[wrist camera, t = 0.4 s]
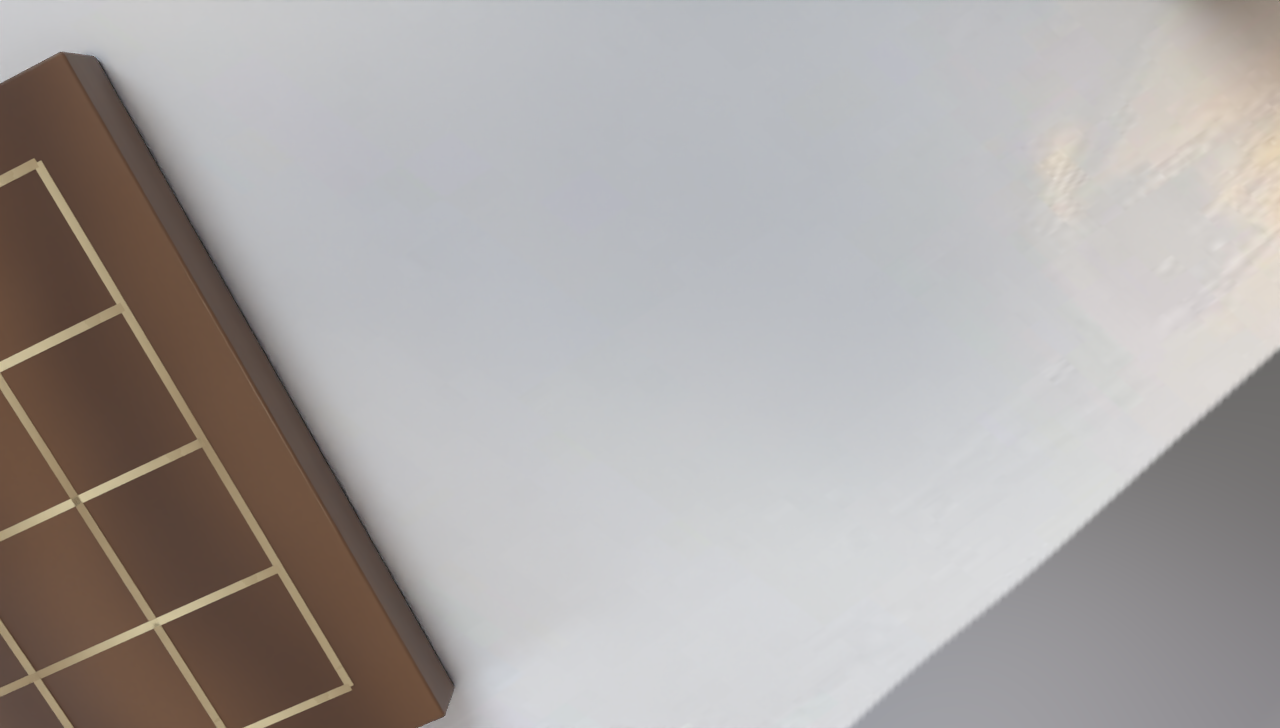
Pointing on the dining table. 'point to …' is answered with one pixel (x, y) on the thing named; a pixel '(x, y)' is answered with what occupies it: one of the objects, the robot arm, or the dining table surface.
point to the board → (163, 467)
